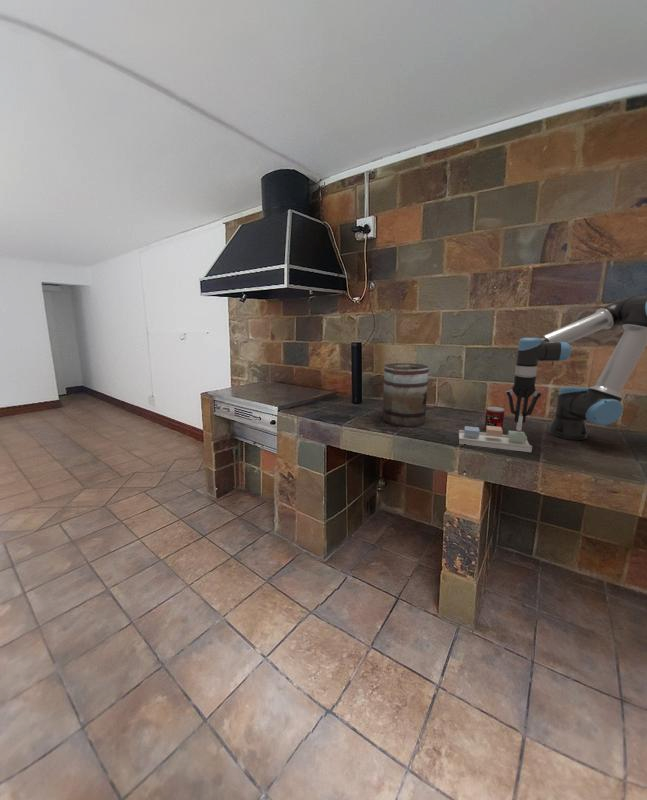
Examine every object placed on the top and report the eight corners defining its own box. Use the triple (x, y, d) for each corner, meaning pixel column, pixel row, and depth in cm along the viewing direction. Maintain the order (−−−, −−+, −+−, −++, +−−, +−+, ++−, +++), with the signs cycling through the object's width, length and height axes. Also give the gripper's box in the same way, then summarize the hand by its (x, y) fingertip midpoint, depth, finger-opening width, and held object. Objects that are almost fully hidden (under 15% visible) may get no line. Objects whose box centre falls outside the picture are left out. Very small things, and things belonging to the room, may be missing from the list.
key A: (522, 438, 148) (523, 431, 147) (525, 443, 143) (526, 436, 142) (507, 437, 150) (508, 430, 149) (509, 441, 145) (510, 434, 144)
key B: (500, 433, 151) (501, 427, 150) (502, 438, 145) (502, 431, 145) (485, 432, 153) (486, 425, 152) (486, 436, 147) (487, 429, 147)
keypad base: (525, 442, 151) (526, 437, 150) (531, 452, 140) (532, 446, 139) (458, 435, 160) (459, 430, 160) (459, 443, 150) (459, 438, 149)
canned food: (480, 428, 170) (483, 407, 167) (493, 426, 172) (495, 405, 170) (493, 433, 163) (495, 411, 160) (505, 431, 165) (508, 409, 163)
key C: (478, 433, 154) (478, 427, 153) (478, 438, 149) (479, 431, 148) (463, 432, 156) (464, 426, 156) (464, 436, 151) (464, 430, 150)
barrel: (432, 421, 182) (437, 366, 175) (409, 430, 167) (412, 370, 160) (398, 412, 198) (400, 362, 191) (373, 420, 184) (375, 366, 176)
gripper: (541, 374, 140) (534, 428, 146) (506, 373, 145) (500, 425, 151) (545, 377, 134) (538, 434, 139) (508, 376, 138) (502, 430, 144)
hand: (518, 429), depth 145 cm, fingers closed
